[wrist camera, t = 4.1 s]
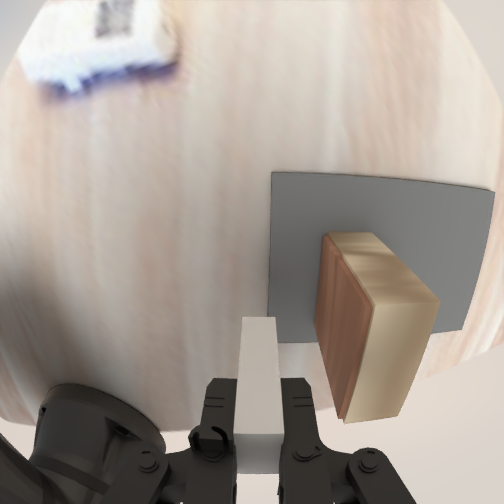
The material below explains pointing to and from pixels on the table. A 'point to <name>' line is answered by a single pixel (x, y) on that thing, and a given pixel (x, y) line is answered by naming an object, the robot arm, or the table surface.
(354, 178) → the mat
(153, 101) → the table surface
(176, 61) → the table surface
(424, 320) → the brown wooden block
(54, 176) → the table surface
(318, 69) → the table surface
